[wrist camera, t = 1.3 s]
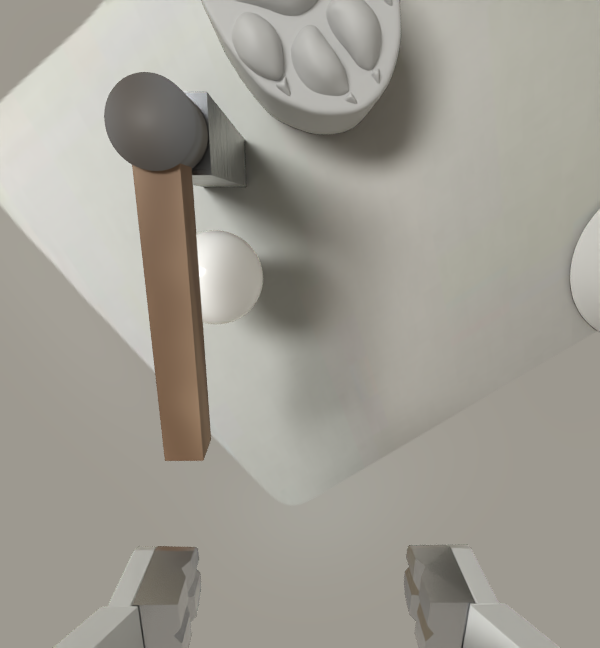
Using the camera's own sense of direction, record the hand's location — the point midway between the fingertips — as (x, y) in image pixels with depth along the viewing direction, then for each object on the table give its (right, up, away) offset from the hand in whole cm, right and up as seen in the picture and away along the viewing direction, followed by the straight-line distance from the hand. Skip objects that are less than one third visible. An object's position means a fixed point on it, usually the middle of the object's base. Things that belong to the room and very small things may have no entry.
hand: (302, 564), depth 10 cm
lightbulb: (-6, +12, +25) cm, 28 cm away
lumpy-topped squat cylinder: (+1, +27, +21) cm, 34 cm away
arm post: (-6, +19, +23) cm, 30 cm away
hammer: (-6, +8, +10) cm, 15 cm away
